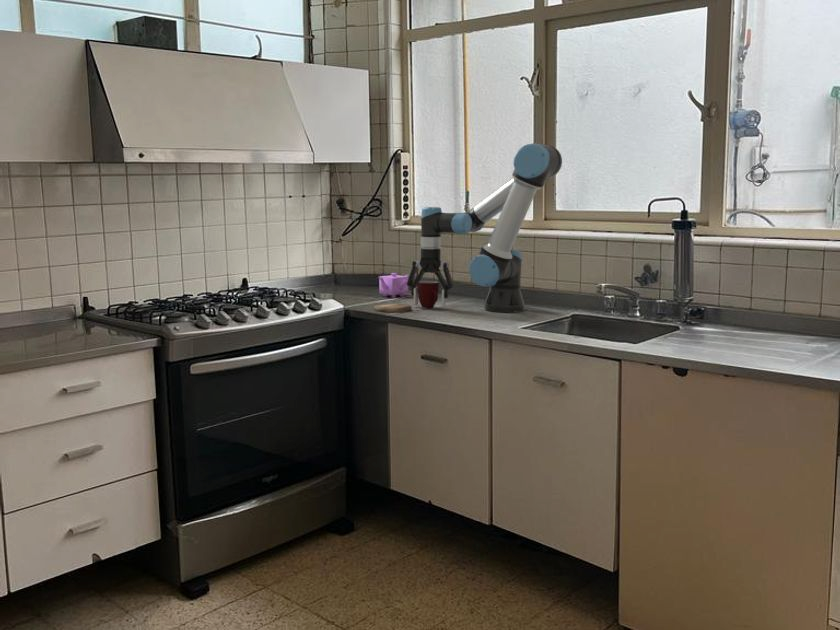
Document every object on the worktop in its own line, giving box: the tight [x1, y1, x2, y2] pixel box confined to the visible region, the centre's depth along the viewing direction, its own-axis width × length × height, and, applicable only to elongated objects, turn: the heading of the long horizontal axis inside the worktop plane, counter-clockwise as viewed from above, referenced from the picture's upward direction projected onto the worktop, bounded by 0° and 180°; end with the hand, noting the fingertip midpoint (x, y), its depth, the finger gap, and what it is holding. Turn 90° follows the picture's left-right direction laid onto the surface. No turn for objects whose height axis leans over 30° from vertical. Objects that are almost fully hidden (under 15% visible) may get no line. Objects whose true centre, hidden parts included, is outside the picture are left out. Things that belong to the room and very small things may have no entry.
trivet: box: [373, 303, 412, 314], centre depth 324 cm, size 14×14×1 cm
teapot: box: [377, 272, 410, 299], centre depth 361 cm, size 18×13×10 cm
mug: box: [417, 280, 440, 310], centre depth 329 cm, size 11×8×10 cm
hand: (429, 305), depth 330 cm, fingers open, 11 cm apart
